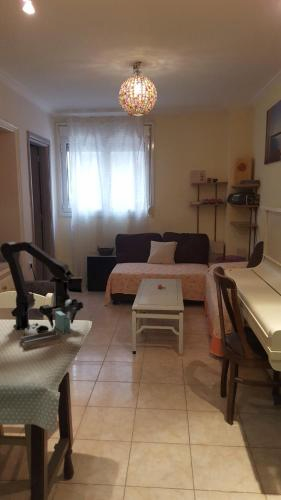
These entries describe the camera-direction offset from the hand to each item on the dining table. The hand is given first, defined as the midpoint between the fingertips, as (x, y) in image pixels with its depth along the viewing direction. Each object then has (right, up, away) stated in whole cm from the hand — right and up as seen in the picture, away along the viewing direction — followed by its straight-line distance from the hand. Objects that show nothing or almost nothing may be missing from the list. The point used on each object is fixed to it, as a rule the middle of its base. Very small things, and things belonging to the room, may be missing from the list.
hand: (62, 325), depth 165 cm
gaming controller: (-11, -3, -5) cm, 12 cm away
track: (-6, -4, -14) cm, 16 cm away
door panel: (0, -2, 0) cm, 2 cm away
